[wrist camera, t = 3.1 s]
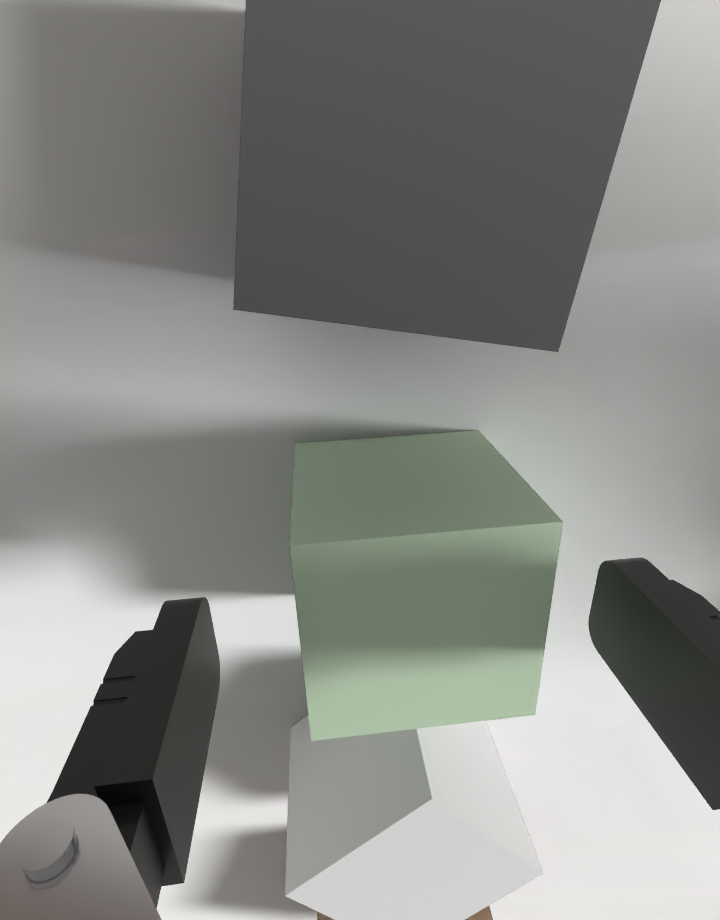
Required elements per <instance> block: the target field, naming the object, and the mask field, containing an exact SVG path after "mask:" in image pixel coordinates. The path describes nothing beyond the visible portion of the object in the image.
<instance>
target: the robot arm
mask: <svg viewBox="0 0 720 920" xmlns="http://www.w3.org/2000/svg"><path fill="white" fill-rule="evenodd" d="M589 631H590V636H591V639H592V642H593V644H594V646H595V648H596V650H597V651H598V653H599V654H600V655H601V657H602V658H603V660H604V661H605V662H606V664H607V665H608V666H609V668H610V669H611V671H612V672H613V673H614V675H615V676H616V677H617V679H618V680H619V682H620V683H621V684H622V686H623V687H624V688H625V690H626V691H627V693H628V694H629V695H630V697H631V698H632V700H633V701H634V702H635V704H636V705H637V706H638V708H639V709H640V711H641V712H642V713H643V715H644V716H645V717H646V719H647V720H648V722H649V723H650V724H651V726H652V727H653V728H654V730H655V731H656V733H657V734H658V735H659V737H660V738H661V739H662V741H663V742H664V744H665V745H666V746H667V748H668V749H669V750H670V752H671V753H672V755H673V756H674V757H675V759H676V760H677V761H678V763H679V764H680V766H681V767H682V768H683V770H684V771H685V772H686V774H687V775H688V777H689V778H690V779H691V781H692V782H693V783H694V785H695V786H696V788H697V789H698V790H699V792H700V793H701V795H702V796H703V797H704V799H705V800H706V801H707V803H708V804H709V806H710V807H711V808H712V810H717V809H720V611H718V610H717V609H716V608H715V607H714V606H713V605H712V604H710V603H709V602H708V601H707V600H706V599H705V598H704V597H702V596H701V595H700V594H698V593H696V592H694V591H692V590H690V589H689V588H687V587H685V586H683V585H681V584H680V583H678V582H676V581H674V580H669V579H668V578H667V577H666V576H664V575H663V574H662V573H661V572H660V571H659V570H658V569H657V568H656V567H655V566H654V565H652V564H651V563H650V562H649V561H648V560H646V559H644V558H630V559H620V560H609V561H604V562H603V563H602V564H601V565H600V567H599V571H598V575H597V580H596V585H595V590H594V595H593V600H592V605H591V610H590V615H589ZM219 683H220V662H219V655H218V649H217V644H216V639H215V634H214V628H213V623H212V618H211V613H210V607H209V603H208V600H207V599H206V598H205V597H202V598H191V599H180V600H170V601H165V602H164V604H163V605H162V608H161V610H160V613H159V615H158V618H157V621H156V623H155V626H154V629H153V630H147V631H137V632H135V633H134V634H133V635H132V636H131V637H130V638H129V639H128V640H127V641H126V642H125V643H124V644H123V645H122V647H121V648H120V649H119V650H118V651H117V652H116V653H115V654H114V656H113V658H112V661H111V663H110V665H109V667H108V669H107V672H106V674H105V676H104V678H103V684H101V685H100V687H99V690H98V692H97V694H96V696H95V698H94V705H93V706H91V707H90V710H89V712H88V714H87V716H86V718H85V721H84V723H83V725H82V727H81V730H80V732H79V734H78V736H77V738H76V741H75V743H74V745H73V747H72V750H71V752H70V754H69V756H68V758H67V761H66V763H65V765H64V767H63V770H62V772H61V774H60V776H59V778H58V781H57V783H56V785H55V787H54V790H53V792H52V794H51V796H50V798H49V799H48V801H47V803H46V804H44V805H43V806H41V807H39V808H37V809H36V810H34V811H33V812H32V813H30V814H29V815H27V816H26V817H25V818H24V819H23V820H21V821H20V822H19V823H18V824H17V825H16V826H15V827H14V828H13V829H12V830H11V831H10V832H9V833H8V834H7V835H6V837H5V838H4V839H3V840H2V842H1V843H0V920H161V918H160V916H159V914H158V911H157V909H156V908H157V904H158V899H159V894H160V890H161V886H166V885H173V884H180V883H184V880H185V874H186V869H187V863H188V858H189V852H190V847H191V841H192V836H193V830H194V824H195V819H196V813H197V808H198V802H199V797H200V791H201V786H202V780H203V775H204V769H205V764H206V758H207V753H208V747H209V742H210V736H211V730H212V725H213V719H214V714H215V708H216V703H217V697H218V692H219Z"/></svg>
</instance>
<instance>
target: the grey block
mask: <svg viewBox="0 0 720 920" xmlns="http://www.w3.org/2000/svg"><path fill="white" fill-rule="evenodd" d="M542 874H544V873H543V870H542V867H541V865H540V862H539V859H538V857H537V854H536V851H535V849H534V846H533V843H532V841H531V838H530V835H529V833H528V830H527V827H526V825H525V822H524V819H523V817H522V814H521V811H520V809H519V806H518V803H517V801H516V798H515V795H514V793H513V790H512V788H511V785H510V782H509V780H508V777H507V774H506V772H505V769H504V766H503V764H502V761H501V758H500V756H499V753H498V750H497V748H496V745H495V742H494V740H493V737H492V734H491V732H490V729H489V726H488V724H487V721H478V722H469V723H461V724H452V725H444V726H435V727H427V728H418V729H410V730H401V731H393V732H385V733H376V734H368V735H359V736H351V737H342V738H334V739H325V740H317V741H311V733H310V724H309V715H307V716H306V717H305V718H303V719H302V720H301V721H299V722H298V723H297V724H295V725H294V726H293V727H291V729H290V759H289V789H288V819H287V849H286V878H285V896H286V897H288V898H290V899H292V900H294V901H296V902H299V903H301V904H303V905H305V906H307V907H309V908H311V909H313V910H315V911H318V912H320V913H322V914H324V915H326V916H328V917H330V918H332V919H334V920H465V919H467V918H469V917H470V916H472V915H474V914H475V913H477V912H479V911H480V910H482V909H484V908H486V907H487V906H489V905H491V904H492V903H494V902H496V901H497V900H499V899H501V898H503V897H504V896H506V895H508V894H509V893H511V892H513V891H515V890H516V889H518V888H520V887H521V886H523V885H525V884H526V883H528V882H530V881H532V880H533V879H535V878H537V877H538V876H540V875H542Z"/></svg>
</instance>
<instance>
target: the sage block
mask: <svg viewBox="0 0 720 920" xmlns="http://www.w3.org/2000/svg"><path fill="white" fill-rule="evenodd" d="M562 525H563V521H562V520H561V519H560V518H559V517H558V516H557V515H556V514H555V513H554V512H553V510H552V509H551V508H550V507H549V506H548V505H547V504H546V503H545V502H544V501H543V500H542V499H541V497H540V496H539V495H538V494H537V493H536V492H535V491H534V490H533V489H532V488H531V487H530V486H529V484H528V483H527V482H526V481H525V480H524V479H523V478H522V477H521V476H520V475H519V474H518V473H517V471H516V470H515V469H514V468H513V467H512V466H511V465H510V464H509V463H508V462H507V461H506V460H505V458H504V457H503V456H502V455H501V454H500V453H499V452H498V451H497V450H496V449H495V448H494V447H493V446H492V444H491V443H490V442H489V441H488V440H487V439H486V438H485V437H484V436H483V435H482V434H481V433H480V431H479V430H472V431H458V432H444V433H430V434H416V435H403V436H389V437H375V438H361V439H347V440H333V441H319V442H305V443H295V448H294V467H293V485H292V504H291V522H290V541H289V548H290V557H291V566H292V575H293V583H294V592H295V601H296V610H297V619H298V627H299V636H300V645H301V654H302V663H303V671H304V680H305V689H306V698H307V707H308V715H309V724H310V733H311V741H317V740H325V739H334V738H342V737H351V736H359V735H368V734H376V733H385V732H393V731H401V730H410V729H418V728H427V727H435V726H444V725H452V724H461V723H469V722H478V721H486V720H495V719H503V718H511V717H520V716H528V715H535V711H536V704H537V697H538V690H539V684H540V677H541V670H542V663H543V656H544V649H545V642H546V635H547V628H548V621H549V614H550V608H551V601H552V594H553V587H554V580H555V573H556V566H557V559H558V552H559V545H560V539H561V532H562Z"/></svg>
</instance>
